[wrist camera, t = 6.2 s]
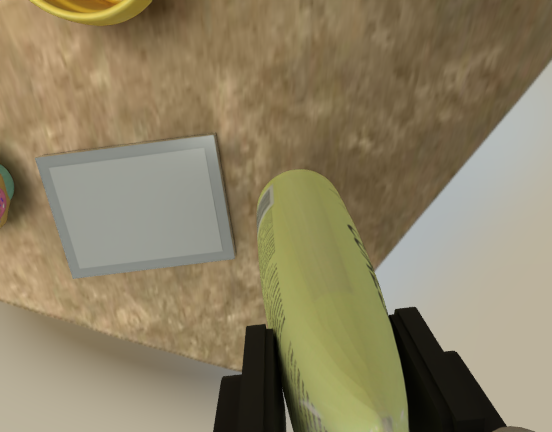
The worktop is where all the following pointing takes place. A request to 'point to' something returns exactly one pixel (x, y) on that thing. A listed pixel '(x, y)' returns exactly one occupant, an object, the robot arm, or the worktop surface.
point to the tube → (326, 312)
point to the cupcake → (5, 193)
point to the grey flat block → (139, 205)
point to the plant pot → (93, 10)
